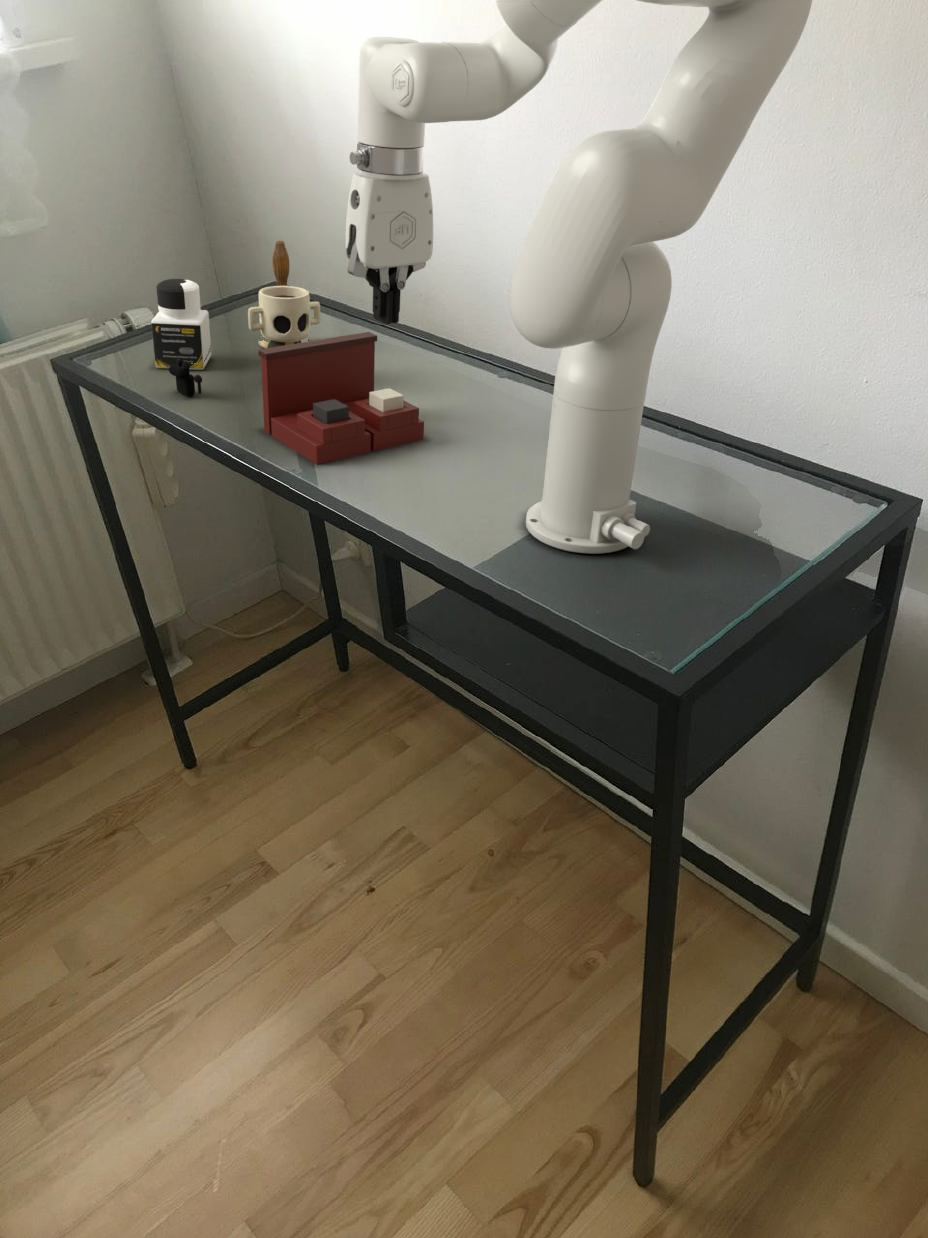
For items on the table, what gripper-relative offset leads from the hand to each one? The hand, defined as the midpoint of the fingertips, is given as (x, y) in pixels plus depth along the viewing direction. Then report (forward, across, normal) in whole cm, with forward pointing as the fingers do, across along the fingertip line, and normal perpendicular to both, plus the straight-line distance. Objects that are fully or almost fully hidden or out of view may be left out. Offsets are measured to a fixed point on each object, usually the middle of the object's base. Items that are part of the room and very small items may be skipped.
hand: (385, 320), depth 129 cm
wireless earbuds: (+16, -15, +27) cm, 35 cm away
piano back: (+15, -4, +9) cm, 18 cm away
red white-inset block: (+15, 0, +2) cm, 15 cm away
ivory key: (+11, 0, -1) cm, 11 cm away
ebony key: (+11, -8, -1) cm, 14 cm away
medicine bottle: (+16, -9, +40) cm, 44 cm away
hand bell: (+16, +9, +41) cm, 45 cm away
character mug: (+16, 0, +25) cm, 30 cm away
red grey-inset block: (+15, -8, +2) cm, 18 cm away
